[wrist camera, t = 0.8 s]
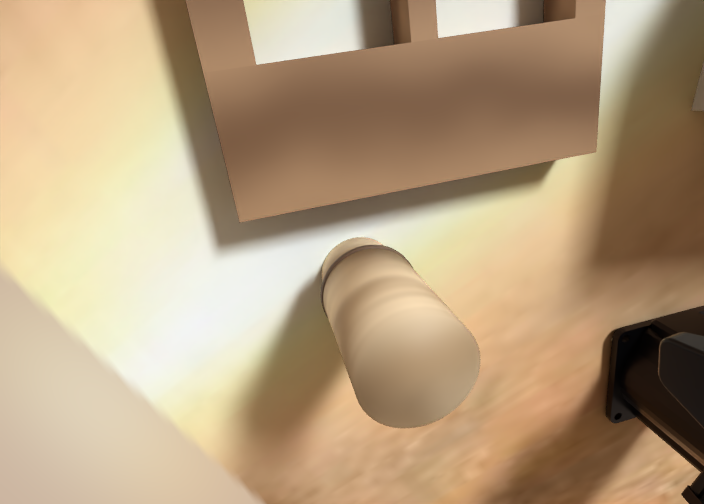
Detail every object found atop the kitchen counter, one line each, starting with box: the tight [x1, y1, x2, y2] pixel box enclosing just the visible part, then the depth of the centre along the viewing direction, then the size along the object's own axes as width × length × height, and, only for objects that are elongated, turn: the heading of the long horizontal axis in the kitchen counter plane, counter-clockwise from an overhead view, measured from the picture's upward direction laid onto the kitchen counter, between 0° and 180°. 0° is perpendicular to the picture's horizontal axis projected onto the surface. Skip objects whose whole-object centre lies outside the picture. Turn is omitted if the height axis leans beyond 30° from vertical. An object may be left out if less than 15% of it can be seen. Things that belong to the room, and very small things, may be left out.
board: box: [186, 0, 606, 222], centre depth 17 cm, size 13×15×2 cm
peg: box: [321, 237, 480, 428], centre depth 18 cm, size 4×4×8 cm
